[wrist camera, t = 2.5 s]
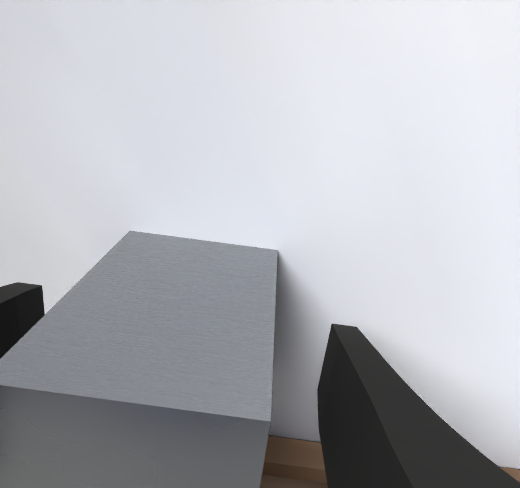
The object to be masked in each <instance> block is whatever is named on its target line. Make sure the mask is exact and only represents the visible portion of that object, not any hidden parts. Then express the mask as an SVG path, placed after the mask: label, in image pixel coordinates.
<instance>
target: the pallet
mask: <svg viewBox="0 0 520 488" xmlns="http://www.w3.org/2000/svg"><path fill="white" fill-rule="evenodd" d="M500 468H501V469H502V470H504V471H505V472H506V473H508V474H509V475H510V476H512V477H513V478H515V479H516V480H517V481H519V482H520V469H512V468H505V467H500ZM260 488H328V485H327V478H326V472H325V466H324V459H323V453H322V446H321V443H318V442H311V441H304V440H296V439H289V438H281V437H274V436H268V441H267V447H266V453H265V459H264V465H263V471H262V477H261V483H260Z"/></svg>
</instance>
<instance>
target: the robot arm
mask: <svg viewBox="0 0 520 488" xmlns="http://www.w3.org/2000/svg"><path fill="white" fill-rule="evenodd" d="M44 315H45V314H44V303H43V291H42V286H41V285H34V284H26V283H18V282H17V283H13V284H9V285H6V286H2V287H0V359H1V358H2V357H3V356H4V355H5V354H6V353H7V352H8V351H9V350H10V349H11V348H12V347H13V346H14V345H15V344H16V343H17V342H18V341H19V340H20V339H21V338H22V337H23V336H24V335H25V334H26V333H27V332H28V331H29V330H30V329H31V328H32V327H33V326H34V325H35V324H36V323H37V322H38V321H39V320H40V319H41V318H42V317H43V316H44ZM317 391H318V422H319V433H320V440H321V446H322V453H323V459H324V466H325V472H326V478H327V485H328V488H520V482H519V481H517V480H516V479H515V478H513V477H512V476H510V475H509V474H508V473H506V472H505V471H504V470H502V469H501V468H500V467H498V466H497V465H496V464H495V463H493V462H492V461H491V460H489V459H488V458H487V457H486V456H484V455H483V454H482V453H481V452H479V451H478V450H477V449H476V448H475V447H473V446H472V445H471V444H470V443H469V442H468V441H466V440H465V439H464V438H463V437H462V436H461V435H459V434H458V433H457V432H456V431H455V430H454V429H452V428H451V427H450V426H449V425H448V424H447V423H446V422H445V421H444V420H442V419H441V418H440V417H439V416H438V415H437V414H436V413H435V412H434V411H433V410H432V409H431V408H430V407H429V406H428V405H427V404H426V403H425V402H424V401H423V400H422V399H421V398H420V397H419V396H418V395H417V394H416V393H415V392H414V391H413V390H412V389H411V388H410V387H409V386H408V385H407V384H406V383H405V382H404V381H403V380H402V378H401V377H400V376H399V375H398V374H397V373H396V372H395V371H394V370H393V368H392V367H391V366H390V365H389V364H388V363H387V362H386V361H385V359H384V358H383V357H382V356H381V355H380V354H379V352H378V351H377V350H376V349H375V348H374V347H373V345H372V344H371V343H370V342H369V341H368V339H367V338H366V337H365V336H364V335H363V334H362V332H361V331H360V330H359V329H358V328H357V327H353V326H345V325H338V324H332V325H331V330H330V334H329V339H328V343H327V348H326V353H325V357H324V362H323V366H322V371H321V376H320V380H319V385H318V390H317Z"/></svg>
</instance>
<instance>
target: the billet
mask: <svg viewBox="0 0 520 488" xmlns="http://www.w3.org/2000/svg"><path fill="white" fill-rule="evenodd" d="M277 255H278V250H272V249H264V248H257V247H249V246H241V245H234V244H226V243H219V242H211V241H203V240H196V239H188V238H181V237H173V236H165V235H158V234H150V233H143V232H135V231H129V232H128V233H127V234H126V235H125V236H124V237H123V238H122V239H121V240H120V241H119V242H118V243H117V244H116V245H115V246H114V247H113V248H112V249H111V250H110V251H109V252H108V253H107V254H106V255H105V256H104V257H103V258H102V259H101V260H100V261H99V262H98V263H97V264H96V265H95V266H94V267H93V268H92V269H91V270H90V271H89V272H88V273H87V274H86V275H85V276H84V277H83V278H82V279H81V280H80V281H79V282H78V283H77V284H76V285H75V286H74V287H73V288H72V289H71V290H70V291H69V292H68V293H67V294H66V295H65V296H64V297H63V298H62V299H61V300H60V301H59V302H57V303H56V304H55V305H54V306H53V307H52V308H51V309H50V310H49V311H48V312H47V313H46V314H45V315H44V316H43V317H42V318H41V319H40V320H39V321H38V322H37V323H36V324H35V325H34V326H33V327H32V328H31V329H30V330H29V331H28V332H27V333H26V334H25V335H24V336H23V337H22V338H21V339H20V340H19V341H18V342H17V343H16V344H15V345H14V346H13V347H12V348H11V349H10V350H9V351H8V352H7V353H6V354H5V355H4V356H3V357H2V358H1V359H0V488H260V483H261V477H262V471H263V465H264V459H265V453H266V447H267V441H268V435H269V429H270V424H271V405H272V380H273V355H274V330H275V305H276V280H277Z"/></svg>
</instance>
